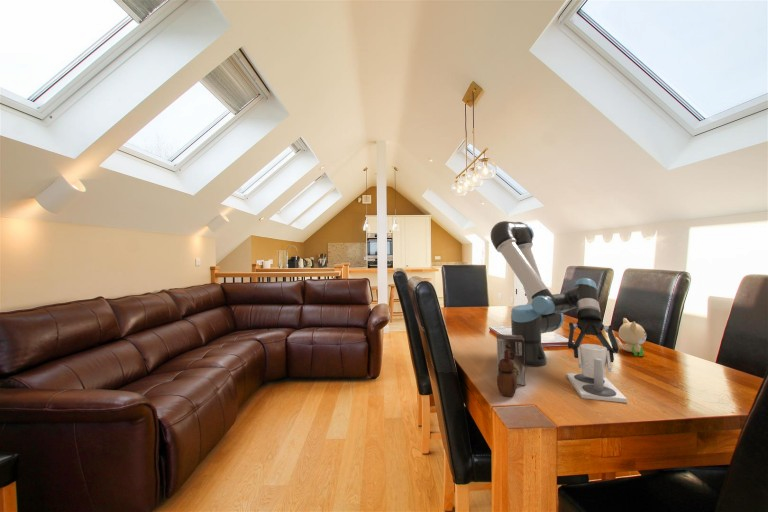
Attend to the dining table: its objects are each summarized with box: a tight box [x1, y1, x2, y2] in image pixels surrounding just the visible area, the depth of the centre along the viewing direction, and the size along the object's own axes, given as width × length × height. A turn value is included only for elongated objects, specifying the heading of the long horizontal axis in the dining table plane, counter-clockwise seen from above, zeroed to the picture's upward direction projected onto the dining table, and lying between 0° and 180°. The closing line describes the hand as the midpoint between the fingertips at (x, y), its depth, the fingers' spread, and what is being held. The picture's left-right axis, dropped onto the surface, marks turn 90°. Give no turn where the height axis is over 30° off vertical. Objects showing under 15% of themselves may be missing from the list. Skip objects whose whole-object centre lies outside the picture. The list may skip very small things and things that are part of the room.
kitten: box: [615, 317, 648, 357], centre depth 144 cm, size 15×10×15 cm
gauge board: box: [566, 358, 628, 404], centre depth 105 cm, size 12×19×11 cm, turn 162°
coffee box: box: [496, 333, 527, 386], centre depth 112 cm, size 9×6×16 cm
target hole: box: [574, 373, 605, 384], centre depth 109 cm, size 9×9×1 cm
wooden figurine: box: [496, 350, 518, 397], centre depth 101 cm, size 7×6×15 cm
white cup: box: [579, 343, 607, 379], centre depth 108 cm, size 8×8×10 cm
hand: (594, 368), depth 105 cm, fingers closed on white cup, 8 cm apart
